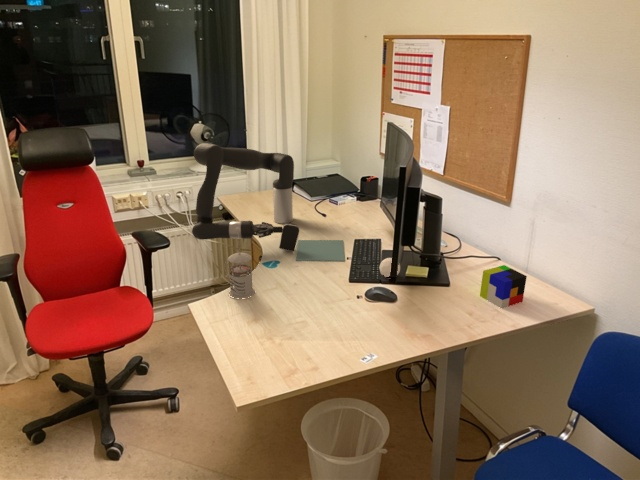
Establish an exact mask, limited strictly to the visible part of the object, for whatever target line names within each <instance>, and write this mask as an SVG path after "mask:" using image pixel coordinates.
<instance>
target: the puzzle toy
mask: <svg viewBox="0 0 640 480" xmlns="http://www.w3.org/2000/svg"><path fill="white" fill-rule="evenodd" d="M526 282H527V275H525V274H523V273H522V272H520V271H517V270H515V269H513V268H511V267H509V266H507V265H505V264H503V265H500V266H495V267H492V268H488V269H483V271H482V276H481V286H480V290H479V291H480V292H479V296H480V297H481V298H482V299H484V300H485V301H487V300H488V301H487V302H488V303H489V302H490V303H491V304H492V303H493V305H494V306H496V307H497V308H499V307H500V309H501V308H502V309H504V307H505V308H507V306H508V307H511V306H513V304H514V305H516V303H517V304H520V303H519V302H521V303H523V302H524V301H523V300H524V295H525V288H526ZM510 305H511V306H510Z"/></svg>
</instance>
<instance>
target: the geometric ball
mask: <svg viewBox="0 0 640 480" xmlns="http://www.w3.org/2000/svg"><path fill="white" fill-rule="evenodd" d="M392 258H393V257H386V258H384V259H383V260H382V261H381V262H380V264H379V268H378V269H379V272H380V274H381V275H382V276H383V275H384V278H386V277H389V276H390V272H391V263H392ZM400 272H401V265H400V264H399V265H398V271H397V276H398V275H399V273H400Z"/></svg>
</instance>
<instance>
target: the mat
mask: <svg viewBox="0 0 640 480" xmlns="http://www.w3.org/2000/svg"><path fill="white" fill-rule="evenodd" d="M295 262H345V247H344V240H343V239H297V244H296V254H295Z"/></svg>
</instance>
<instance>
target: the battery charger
mask: <svg viewBox="0 0 640 480" xmlns="http://www.w3.org/2000/svg"><path fill="white" fill-rule="evenodd" d="M282 228H283V230H282V233H281V235H280V242H279V246H278V248H279V250H284V251H289V252H295V251H296V250H295V249H296V247H297V243H298V240H299V239H298V238H299V234H300V227H299V225H298V224H296V223H291V222H290V223H283V226H282Z"/></svg>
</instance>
